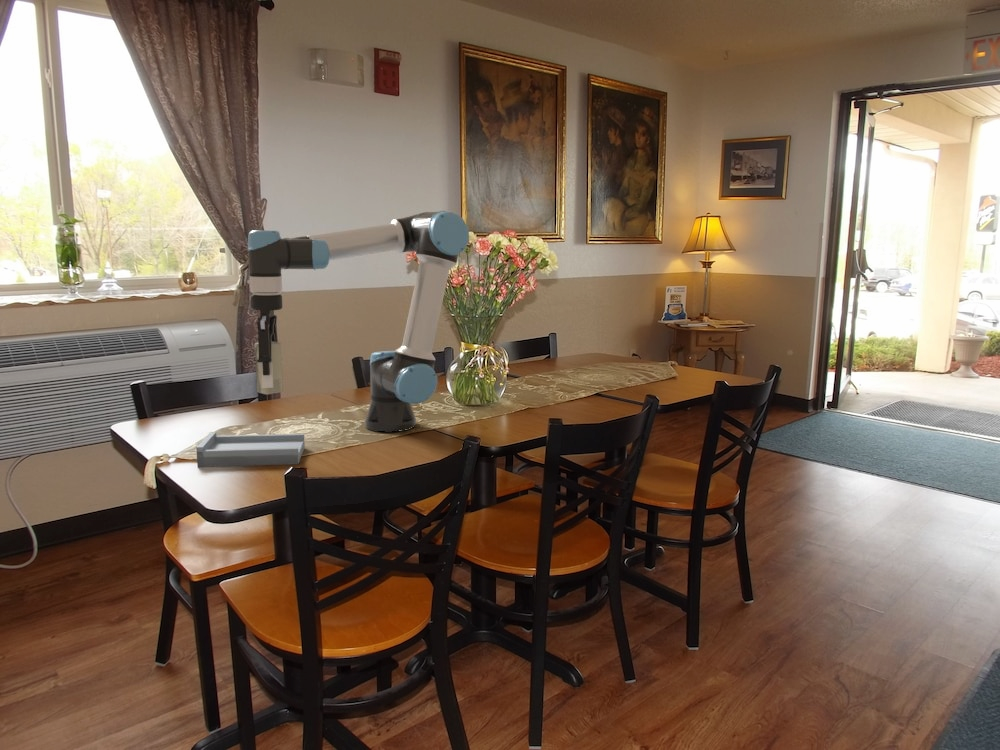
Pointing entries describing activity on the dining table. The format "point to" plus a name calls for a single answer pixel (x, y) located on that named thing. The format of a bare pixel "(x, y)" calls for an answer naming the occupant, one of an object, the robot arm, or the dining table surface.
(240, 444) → the blue-grey tray
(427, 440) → the dining table surface
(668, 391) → the dining table surface
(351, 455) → the dining table surface
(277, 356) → the box
